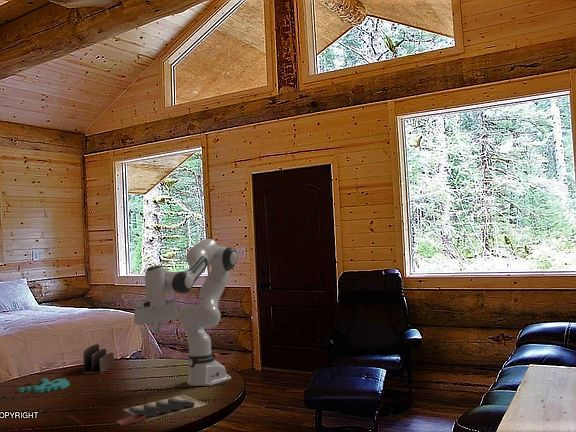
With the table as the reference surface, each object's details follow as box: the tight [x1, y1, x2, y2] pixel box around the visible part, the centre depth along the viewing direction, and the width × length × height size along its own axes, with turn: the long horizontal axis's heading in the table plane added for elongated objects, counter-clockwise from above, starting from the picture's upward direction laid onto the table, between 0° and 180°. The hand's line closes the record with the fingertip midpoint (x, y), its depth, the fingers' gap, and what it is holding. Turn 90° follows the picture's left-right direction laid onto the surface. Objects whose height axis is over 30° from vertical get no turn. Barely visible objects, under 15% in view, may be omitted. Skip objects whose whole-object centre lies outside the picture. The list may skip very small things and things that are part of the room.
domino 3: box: [156, 402, 183, 410], centre depth 229 cm, size 2×5×10 cm
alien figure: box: [17, 378, 71, 394], centre depth 283 cm, size 20×2×20 cm
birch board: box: [122, 394, 208, 422], centre depth 235 cm, size 29×22×1 cm
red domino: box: [116, 414, 146, 427], centre depth 218 cm, size 2×5×10 cm
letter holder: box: [83, 343, 115, 375], centre depth 318 cm, size 10×20×14 cm, turn 176°
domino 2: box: [143, 405, 171, 413], centre depth 225 cm, size 2×5×10 cm
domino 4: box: [168, 399, 195, 407], centre depth 232 cm, size 2×5×10 cm
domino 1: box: [128, 406, 157, 416], centre depth 221 cm, size 2×5×10 cm
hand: (157, 332), depth 248 cm, fingers closed
